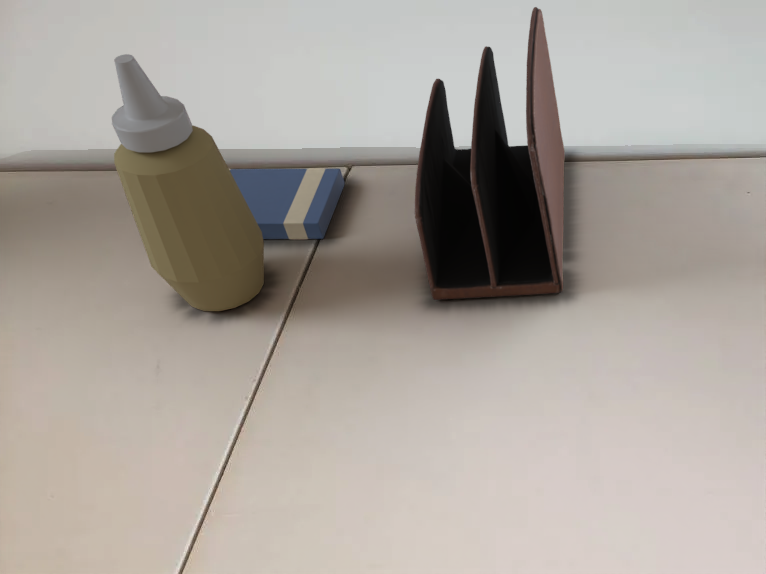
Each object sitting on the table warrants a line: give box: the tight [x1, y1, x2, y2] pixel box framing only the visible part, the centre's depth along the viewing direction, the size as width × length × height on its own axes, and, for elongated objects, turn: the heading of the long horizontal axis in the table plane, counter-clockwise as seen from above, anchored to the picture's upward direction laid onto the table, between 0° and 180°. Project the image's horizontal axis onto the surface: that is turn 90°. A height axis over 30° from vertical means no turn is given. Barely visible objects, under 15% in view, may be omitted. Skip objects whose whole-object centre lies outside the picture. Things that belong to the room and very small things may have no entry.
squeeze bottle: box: [111, 53, 265, 312], centre depth 75 cm, size 8×8×18 cm
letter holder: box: [414, 6, 566, 301], centre depth 82 cm, size 10×20×14 cm, turn 5°
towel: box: [229, 167, 346, 240], centre depth 88 cm, size 8×12×2 cm, turn 90°
